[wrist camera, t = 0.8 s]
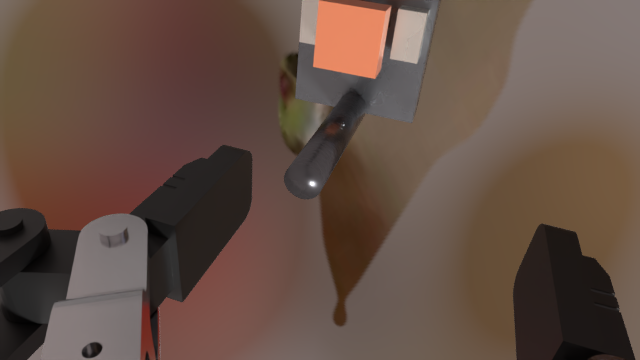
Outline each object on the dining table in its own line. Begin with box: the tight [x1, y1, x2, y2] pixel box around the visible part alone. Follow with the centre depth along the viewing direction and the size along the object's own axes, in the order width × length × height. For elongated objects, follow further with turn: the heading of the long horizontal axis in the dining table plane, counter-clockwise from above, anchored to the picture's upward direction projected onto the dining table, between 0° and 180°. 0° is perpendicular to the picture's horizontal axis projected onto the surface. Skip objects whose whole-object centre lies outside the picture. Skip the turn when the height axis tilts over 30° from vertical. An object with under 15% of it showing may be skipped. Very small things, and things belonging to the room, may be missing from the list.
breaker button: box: [313, 0, 392, 79], centre depth 32 cm, size 4×4×4 cm
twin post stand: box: [284, 0, 441, 199], centre depth 30 cm, size 16×10×15 cm, turn 175°
